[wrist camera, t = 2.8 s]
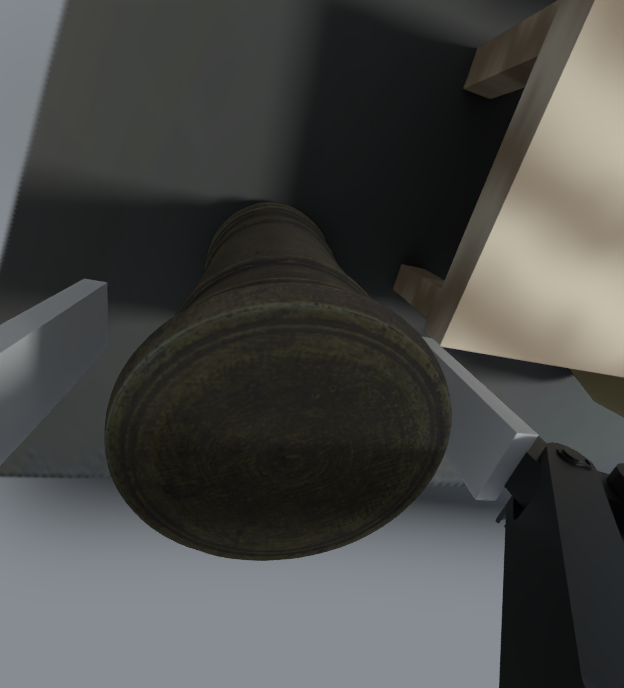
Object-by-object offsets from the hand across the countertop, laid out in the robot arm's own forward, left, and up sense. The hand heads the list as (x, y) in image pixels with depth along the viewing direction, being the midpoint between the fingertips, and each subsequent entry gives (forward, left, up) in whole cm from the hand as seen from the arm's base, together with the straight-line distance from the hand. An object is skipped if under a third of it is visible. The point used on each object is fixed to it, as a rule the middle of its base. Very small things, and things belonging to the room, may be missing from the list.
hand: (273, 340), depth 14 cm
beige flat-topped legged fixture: (-8, +17, -11) cm, 22 cm away
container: (0, 0, -11) cm, 11 cm away
